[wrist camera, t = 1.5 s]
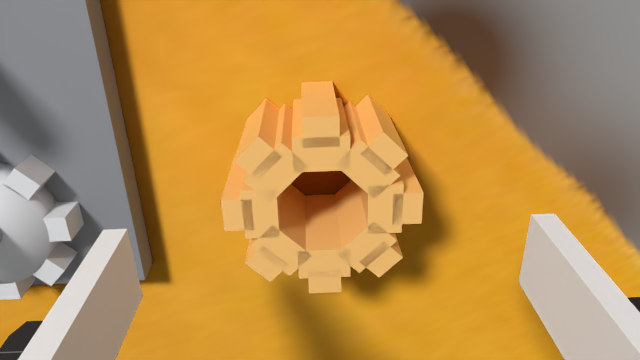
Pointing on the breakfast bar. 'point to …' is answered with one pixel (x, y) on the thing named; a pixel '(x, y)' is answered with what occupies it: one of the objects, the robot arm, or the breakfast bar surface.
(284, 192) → the orange gear
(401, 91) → the breakfast bar surface
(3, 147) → the gear board
